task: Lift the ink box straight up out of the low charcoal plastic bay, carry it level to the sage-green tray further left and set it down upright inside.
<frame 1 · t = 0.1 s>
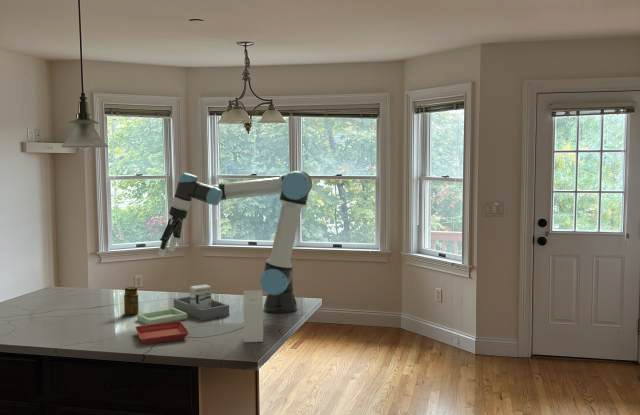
hand: (165, 253, 261), 28 cm above the counter, tool tilted 20°, fingers open, 13 cm apart
condiment: (131, 315, 265), on the counter
tray: (162, 319, 256), on the counter
bay: (200, 311, 269), on the counter
plant saucer: (161, 338, 232), on the counter
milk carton: (253, 340, 227), on the counter
ink box: (200, 312, 269), resting in bay
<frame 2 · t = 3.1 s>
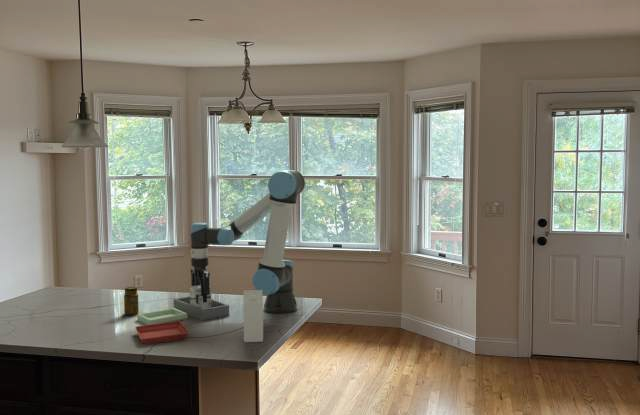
hand: (200, 307, 269), 2 cm above the counter, tool pointing down, fingers closed on ink box, 5 cm apart
ink box: (200, 312, 269), resting in bay, touching gripper
everything else where it was.
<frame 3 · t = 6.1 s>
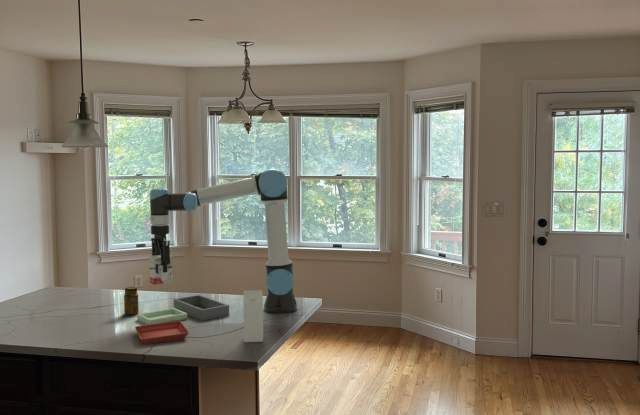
hand: (161, 278, 255), 18 cm above the counter, tool pointing down, fingers closed on ink box, 5 cm apart
ink box: (161, 283, 255), point 16 cm above the counter, touching gripper
everything else where it was.
when the fingers open (4 cm above the counter, at t = 8.8 s): ink box drops 1 cm, resting on tray.
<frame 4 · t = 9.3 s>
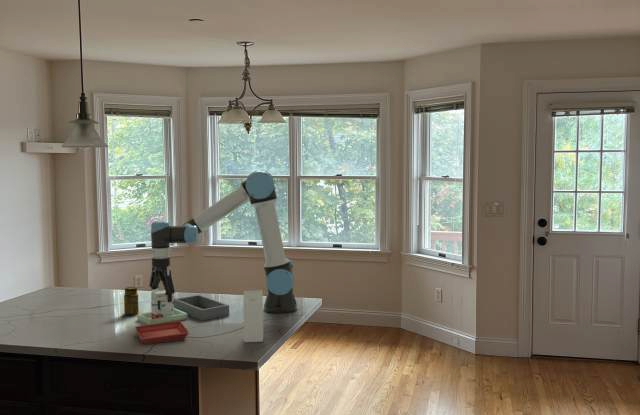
hand: (162, 306, 256), 6 cm above the counter, tool pointing down, fingers open, 12 cm apart
ink box: (163, 318, 256), resting on tray
everything else where it was.
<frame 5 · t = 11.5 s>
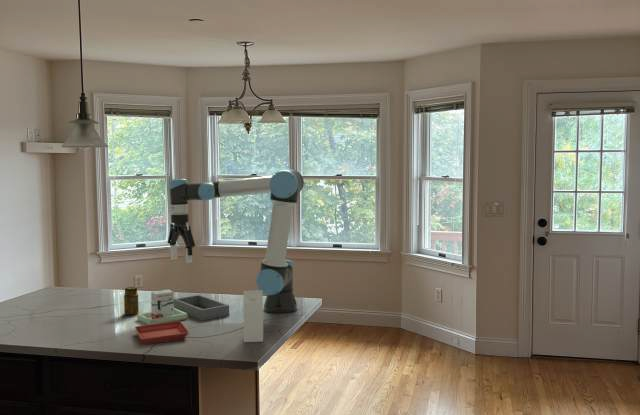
hand: (181, 261, 265), 24 cm above the counter, tool pointing down, fingers open, 13 cm apart
nothing on the counter moved.
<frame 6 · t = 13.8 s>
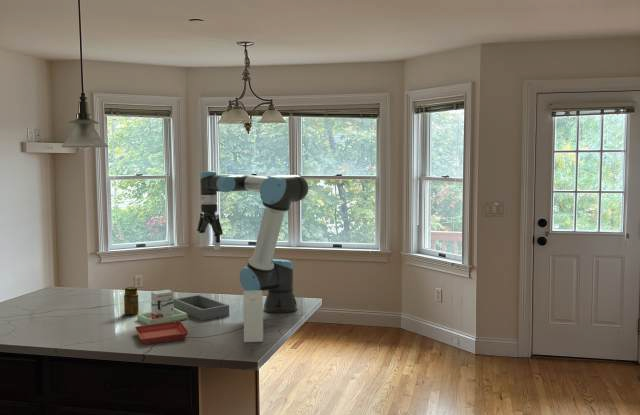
hand: (210, 247, 284), 27 cm above the counter, tool pointing down, fingers open, 13 cm apart
nothing on the counter moved.
at the end: ink box inside the target area on the tray (0.4 cm from its centre), point 0.4 cm above the tray's base; ink box tilted 0°; the gripper is holding nothing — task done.
